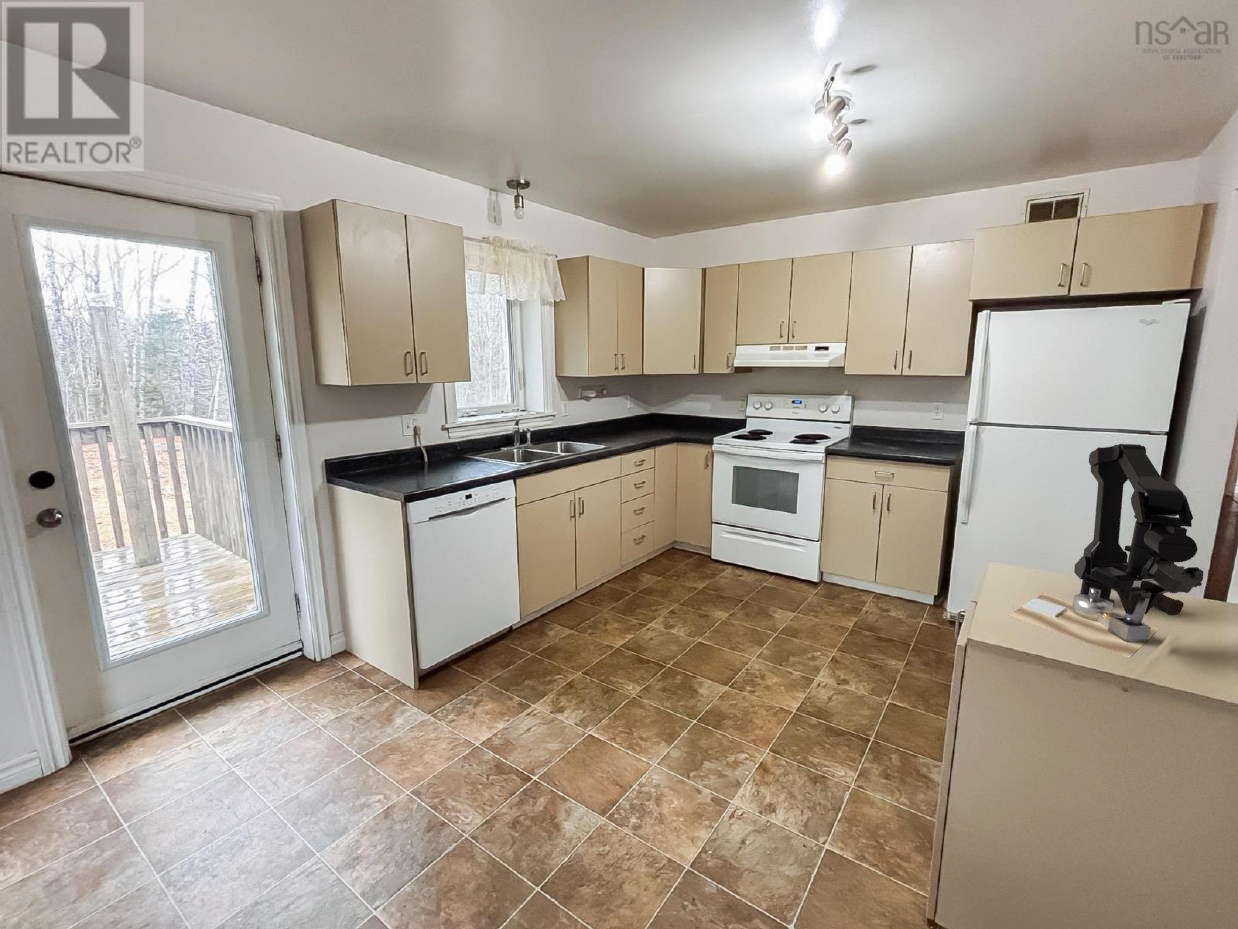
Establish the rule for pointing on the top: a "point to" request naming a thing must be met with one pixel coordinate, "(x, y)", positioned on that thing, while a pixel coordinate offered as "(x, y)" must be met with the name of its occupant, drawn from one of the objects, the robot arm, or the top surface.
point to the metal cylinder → (1138, 609)
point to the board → (1078, 627)
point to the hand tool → (1168, 605)
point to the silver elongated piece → (1107, 616)
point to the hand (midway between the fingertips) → (1135, 613)
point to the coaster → (1044, 607)
